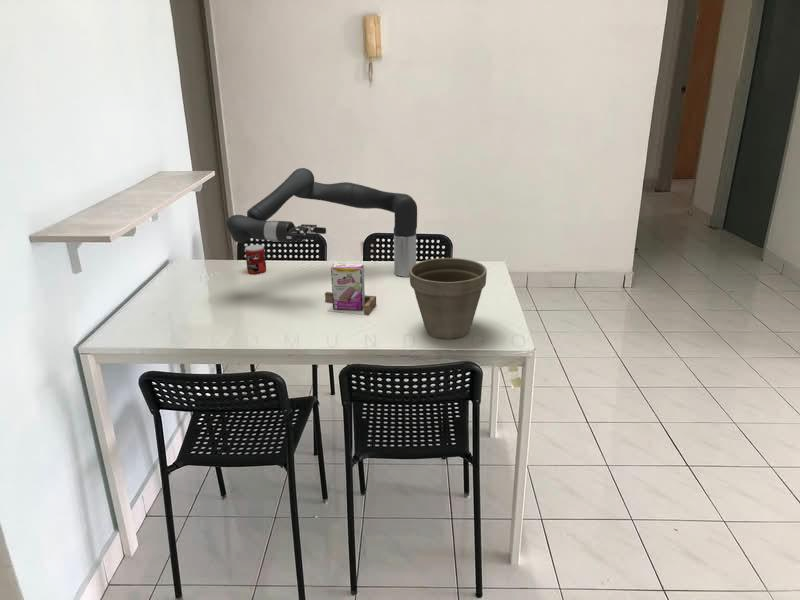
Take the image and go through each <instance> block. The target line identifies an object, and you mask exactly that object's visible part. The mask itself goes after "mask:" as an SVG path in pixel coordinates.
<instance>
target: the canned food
mask: <svg viewBox="0 0 800 600" xmlns="http://www.w3.org/2000/svg"><path fill="white" fill-rule="evenodd" d="M244 253H245V254H244V255H245V262H246V270H247V273H248V274H249V273H250V275H261V274H260V273H262V274H264V273H265V272H266V271H267V264H266V255H265V253H266V252H265V246H264V245H262V244H251V245H247V246H245V247H244Z"/></svg>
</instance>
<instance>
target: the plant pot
mask: <svg viewBox="0 0 800 600" xmlns="http://www.w3.org/2000/svg"><path fill="white" fill-rule="evenodd" d="M487 271H488V270H487V268H486V266H485V265H484V264H482V263H480V262H478V261H475V260H470V259H466V258H457V257H440V258H431V259H425V260H422V261H418V262H416V264H414V265H413V266H411V267H410V269H409V276H410V277H409V284H410V287H411V288H412V289H413V291H414V295H415V298H416V302H417V305H418V308H419V312H420V314H421V319H422V322H423V326H424V328H425V330H426V332H427V334H428V335H430V336H432V337H433V338H437V339H438V338H439V339H443V340H444V339H445V340H448V339H449V340H453V339H460V338H463V337H464V336H466V335H467V334H469V333H470V330H471V328H472V325H473V321H474V318H475V316H476V315H475V314H476V311H477V308H478V304H479V302H480V298H481V294H482V292H483V289H484V288H485V287H486V284H487Z"/></svg>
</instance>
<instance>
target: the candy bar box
mask: <svg viewBox="0 0 800 600" xmlns="http://www.w3.org/2000/svg"><path fill="white" fill-rule="evenodd" d="M330 270H331V271H330V272H331V273H330V274H331V291H332V298H333V303H332V305H333V309H337V310H359V311H362V310H363V308H364V305H365V295H366V294H365V265H364V264H361V263H360V264H358V263H355V264H354V263H337V262H336V263H335V262H334V263H333V264H332V265H331V268H330Z"/></svg>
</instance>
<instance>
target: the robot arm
mask: <svg viewBox="0 0 800 600" xmlns="http://www.w3.org/2000/svg"><path fill="white" fill-rule="evenodd" d="M292 197H296V198H300V199H304V200H315V201H316V200H317V201H322V202H329V203H332V204H333V203H334V204H338V205H343V206H346V207H350V208H351V207H352V208H355V209H356V208H357V209H363V210H364V209H379V210H384V211H387V212H390V213H393V214H394V227H393V255H394V258H393V260H394V262H393V263H394V264H393V266H394V267H393V269H394V271H393V272H394V273H395V274H396V276H397V275H398V277H400V276H402V277H405V278H408V277H409V269H410V267H411V266H413V265H414V264H416V263H417V227H418V205H417V203H416V201H415V200H414V198H413V197H412V196H411V195H409V194H407V193H399V192H392V191H391V192H389V191H383V190H379V189H377V188H373V187H370V186H367V185H366V186H365V185H364V184H363V185H361V184H359V183H354V182H347V181H346V182H345V181H343V182H335V183H321V182H317V181H315V175H314V173H313V172H312V170H310V169H308V168H306V167H305V168H304V167H300V168H296V169H295V170H294V171H293V172H292V173H291V174H290V175H289V176H288V177H287V178H286V179H285V180H284V181H283V182H282V183H280V185H278V186H277V187H276V189H274V190H273V191H272V192H270V193H269V194H267V196H265V197H264V198H263V199H261V200H260V201H258V202H257V203H255V204H254V205H252V206H251V207H250V208H249V209H248V210H247V211H246V215H247V216H246V215H243V214H234V215H231V216H229V217H228V218H227V220H226V227H227V230H228V231H229V233H230V236H231V238H232V240H233V241H234V242H236V243H239V244H240V243H241V244H242V243H245V242H247V241H249V240H250V239H251V237H252V238H253V239H255V240H260V241H271V242H281V243H292V242H297V243H298V242H299V243H302V242H303V241H316V240H318V234H319V235H326V234H327V228H326V227H322V226H319V227H318V226H317V224H304V223H303V224H301V225H297V226H296V225H295V224H294V223H293V222H292V221H288V220H269V219H270V218H271V217H273V216H274V215H275V214H276V213H278V212H279V210H280V209H281V208H283V206H284V204H286V203H287V202H288V201H289V200H290V199H291V198H292ZM394 273H393V274H394ZM395 274H394V275H395ZM402 277H401V278H402ZM409 278H410V277H409Z"/></svg>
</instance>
